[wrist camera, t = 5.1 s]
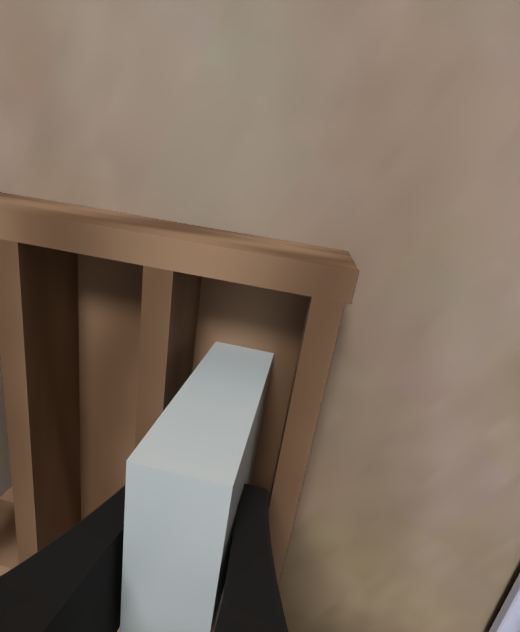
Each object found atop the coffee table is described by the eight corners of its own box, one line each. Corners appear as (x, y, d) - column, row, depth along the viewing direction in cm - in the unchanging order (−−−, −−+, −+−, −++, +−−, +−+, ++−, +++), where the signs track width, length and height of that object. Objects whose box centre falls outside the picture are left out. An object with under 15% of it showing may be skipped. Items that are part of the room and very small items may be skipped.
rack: (348, 251, 12) (359, 271, 8) (277, 564, 16) (266, 657, 13) (-40, 185, 13) (-161, 180, 10) (-7, 489, 18) (-83, 555, 14)
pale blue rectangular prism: (274, 353, 12) (233, 486, 6) (245, 514, 14) (196, 718, 9) (215, 341, 12) (126, 460, 7) (197, 501, 14) (117, 693, 9)
